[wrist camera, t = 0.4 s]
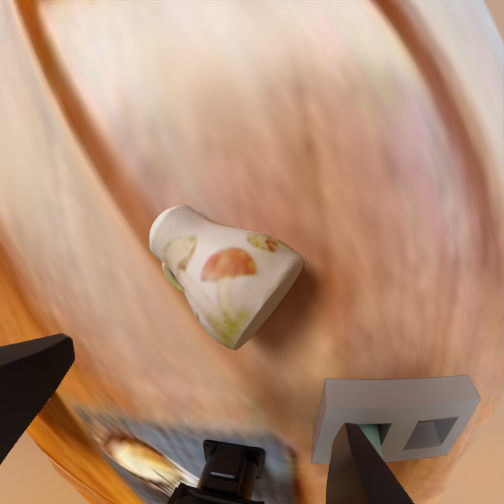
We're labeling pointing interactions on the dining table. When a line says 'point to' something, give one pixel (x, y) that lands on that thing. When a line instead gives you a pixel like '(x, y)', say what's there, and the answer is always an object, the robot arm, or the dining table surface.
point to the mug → (224, 272)
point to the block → (397, 414)
